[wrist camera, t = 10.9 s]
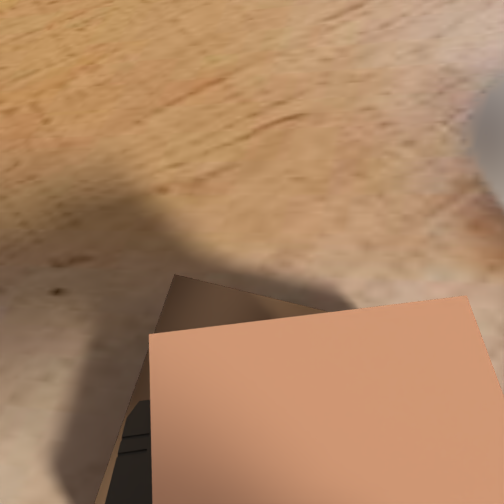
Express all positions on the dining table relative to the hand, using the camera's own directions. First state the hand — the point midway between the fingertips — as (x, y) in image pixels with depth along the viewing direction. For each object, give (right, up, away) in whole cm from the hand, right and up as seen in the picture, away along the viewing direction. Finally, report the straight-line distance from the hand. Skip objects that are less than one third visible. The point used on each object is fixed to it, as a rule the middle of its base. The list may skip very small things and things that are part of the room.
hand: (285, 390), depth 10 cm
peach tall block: (0, -3, +3) cm, 5 cm away
